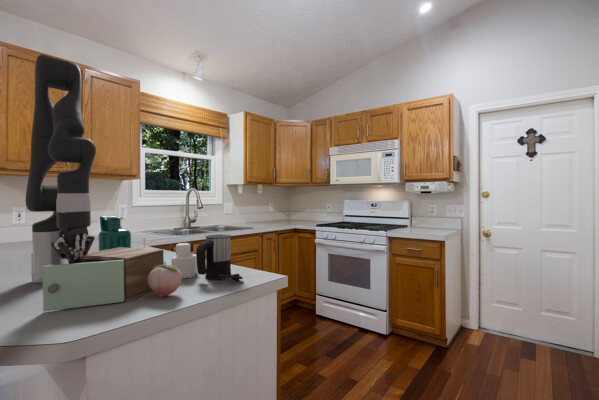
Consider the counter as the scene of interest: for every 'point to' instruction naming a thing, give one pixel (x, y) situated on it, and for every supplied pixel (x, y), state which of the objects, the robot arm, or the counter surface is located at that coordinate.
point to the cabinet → (131, 267)
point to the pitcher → (113, 233)
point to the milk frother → (215, 258)
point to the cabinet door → (82, 284)
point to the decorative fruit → (164, 279)
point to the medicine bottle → (185, 259)
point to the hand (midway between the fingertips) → (75, 273)
